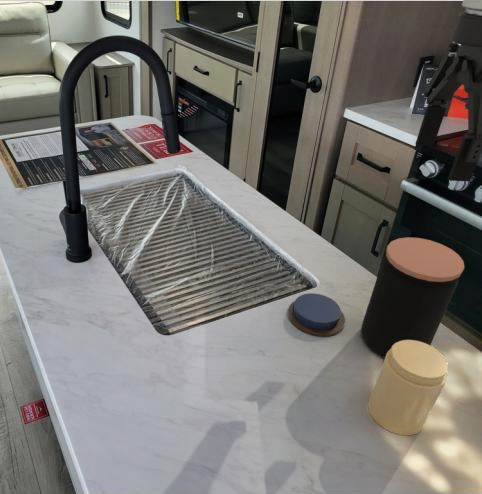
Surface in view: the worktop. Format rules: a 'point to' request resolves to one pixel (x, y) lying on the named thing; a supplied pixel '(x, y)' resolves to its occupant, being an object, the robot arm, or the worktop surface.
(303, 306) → the lid
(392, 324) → the coffee jar
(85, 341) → the worktop surface
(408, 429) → the jar
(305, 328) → the coaster
